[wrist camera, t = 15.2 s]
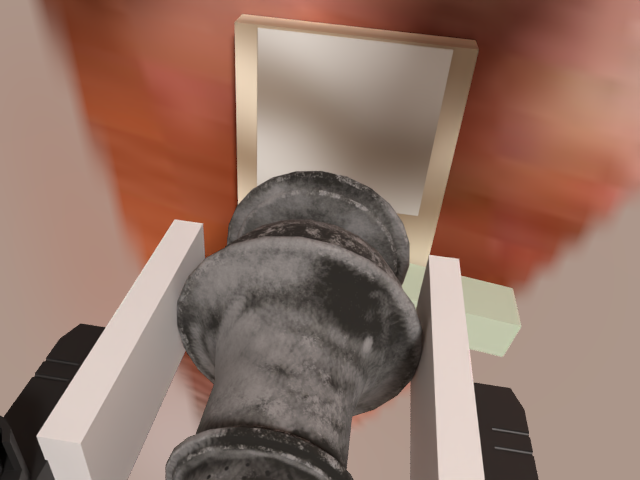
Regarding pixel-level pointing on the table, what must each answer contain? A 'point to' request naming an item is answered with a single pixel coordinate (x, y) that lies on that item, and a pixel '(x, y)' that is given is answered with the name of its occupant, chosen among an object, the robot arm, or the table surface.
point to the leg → (478, 311)
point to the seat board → (353, 110)
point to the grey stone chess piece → (296, 330)
